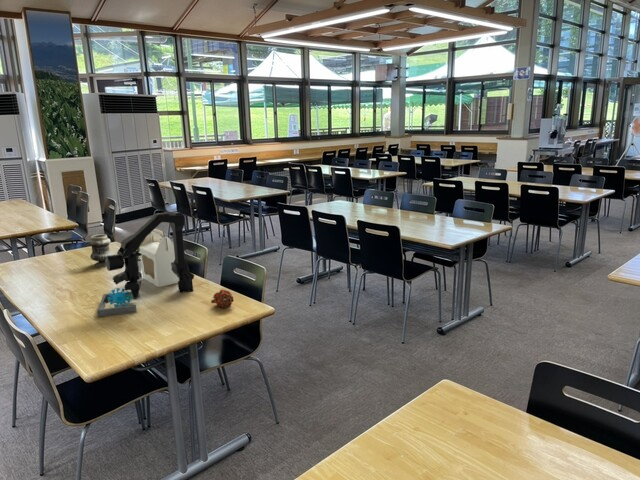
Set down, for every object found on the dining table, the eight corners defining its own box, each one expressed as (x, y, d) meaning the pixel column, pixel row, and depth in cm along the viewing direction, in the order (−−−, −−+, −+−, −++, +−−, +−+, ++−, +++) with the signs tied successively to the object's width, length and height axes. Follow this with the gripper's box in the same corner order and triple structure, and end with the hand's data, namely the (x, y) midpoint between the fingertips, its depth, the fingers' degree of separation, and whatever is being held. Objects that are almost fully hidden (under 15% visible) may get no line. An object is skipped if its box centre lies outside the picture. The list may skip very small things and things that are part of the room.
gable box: (142, 277, 254) (136, 227, 247) (165, 272, 262) (161, 224, 255) (158, 287, 237) (153, 234, 231) (183, 281, 245) (178, 230, 239)
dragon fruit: (230, 314, 205) (215, 311, 214) (241, 298, 209) (226, 296, 218) (218, 302, 201) (204, 299, 209) (230, 287, 205) (215, 284, 213)
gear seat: (139, 296, 225) (138, 290, 224) (136, 312, 205) (135, 305, 204) (104, 300, 220) (103, 294, 220) (97, 317, 201) (96, 310, 200)
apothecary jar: (107, 267, 274) (104, 237, 270) (87, 267, 275) (83, 238, 270) (116, 261, 286) (113, 233, 282) (97, 261, 286) (93, 233, 282)
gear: (109, 307, 206) (106, 288, 211) (107, 313, 210) (104, 294, 215) (135, 305, 213) (132, 286, 217) (132, 311, 217) (129, 292, 221)
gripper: (114, 262, 219) (119, 293, 223) (110, 274, 202) (114, 307, 205) (140, 260, 222) (143, 291, 226) (137, 271, 205) (141, 304, 208)
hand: (135, 298), depth 216 cm, fingers closed, pressing on gear
